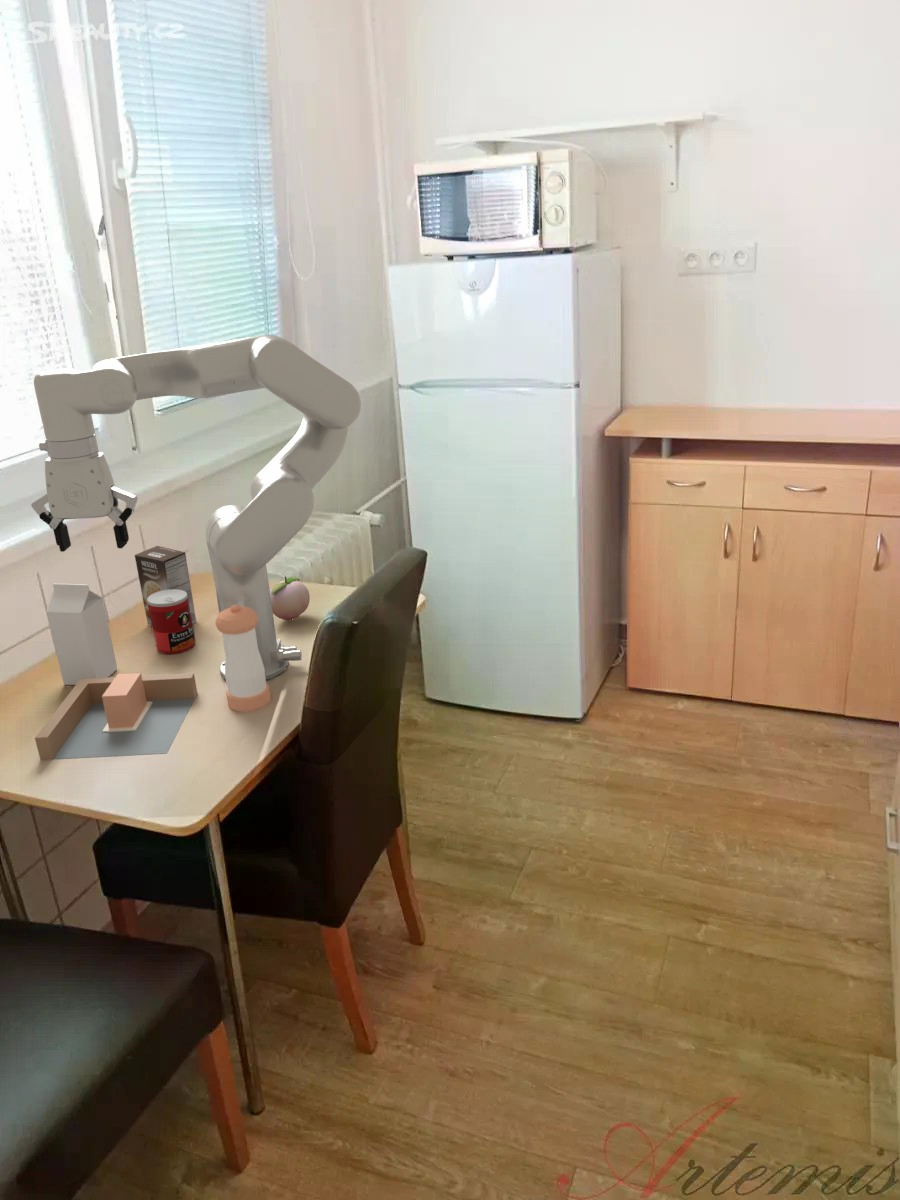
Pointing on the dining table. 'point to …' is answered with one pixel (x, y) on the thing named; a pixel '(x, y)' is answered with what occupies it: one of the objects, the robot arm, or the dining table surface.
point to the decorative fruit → (289, 598)
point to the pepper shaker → (242, 659)
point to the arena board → (88, 734)
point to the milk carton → (80, 633)
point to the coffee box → (163, 574)
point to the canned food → (171, 621)
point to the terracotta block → (124, 700)
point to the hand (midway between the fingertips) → (94, 547)
